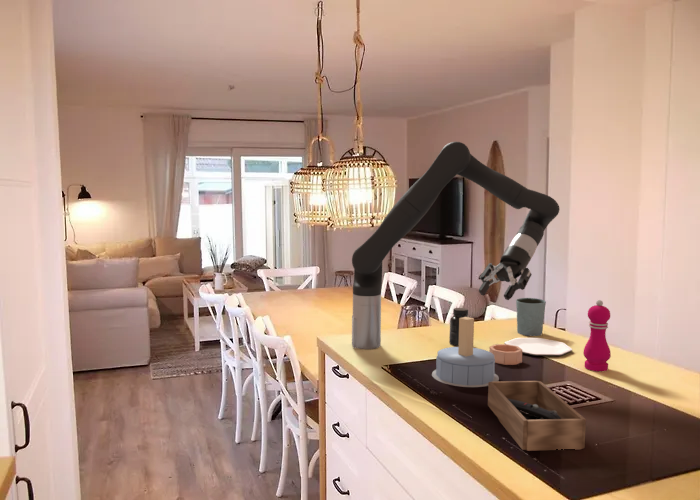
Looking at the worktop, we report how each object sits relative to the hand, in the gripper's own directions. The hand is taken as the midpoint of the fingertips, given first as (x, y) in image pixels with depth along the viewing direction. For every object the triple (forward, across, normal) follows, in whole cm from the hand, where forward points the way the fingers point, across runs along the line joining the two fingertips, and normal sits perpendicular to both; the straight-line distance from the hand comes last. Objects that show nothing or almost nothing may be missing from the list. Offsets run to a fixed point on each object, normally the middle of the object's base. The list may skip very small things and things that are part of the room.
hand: (493, 295), depth 163 cm
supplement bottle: (+6, -23, +25) cm, 34 cm away
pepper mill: (-2, +18, +33) cm, 37 cm away
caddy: (+33, +30, -3) cm, 45 cm away
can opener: (+34, +30, -3) cm, 45 cm away
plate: (-5, -4, +36) cm, 37 cm away
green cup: (-17, -18, +47) cm, 53 cm away
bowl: (+8, -2, +22) cm, 23 cm away
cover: (+23, 0, +7) cm, 24 cm away
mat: (+23, 0, +7) cm, 24 cm away
